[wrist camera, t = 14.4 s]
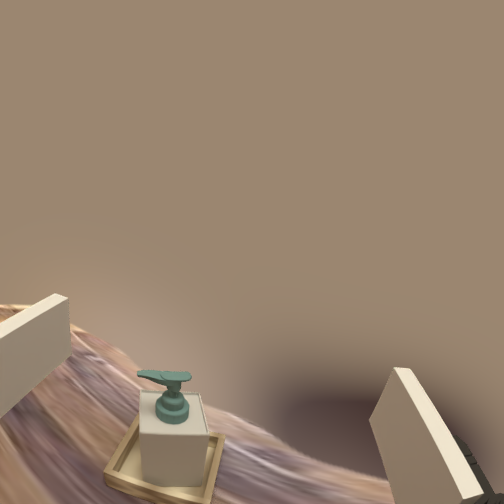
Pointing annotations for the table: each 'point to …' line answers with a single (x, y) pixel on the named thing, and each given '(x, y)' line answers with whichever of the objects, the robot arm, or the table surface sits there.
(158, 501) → the caddy
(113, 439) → the table surface
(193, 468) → the soap bottle
